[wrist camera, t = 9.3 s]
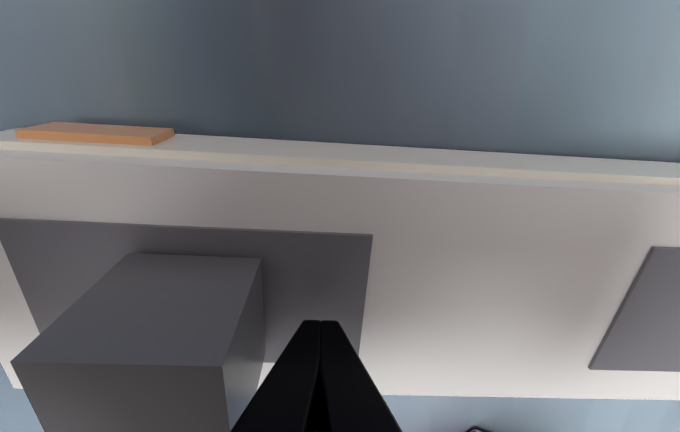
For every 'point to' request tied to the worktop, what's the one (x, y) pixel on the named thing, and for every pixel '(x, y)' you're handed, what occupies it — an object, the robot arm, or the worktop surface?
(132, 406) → the inner tab
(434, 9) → the worktop surface
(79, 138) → the switch bank
